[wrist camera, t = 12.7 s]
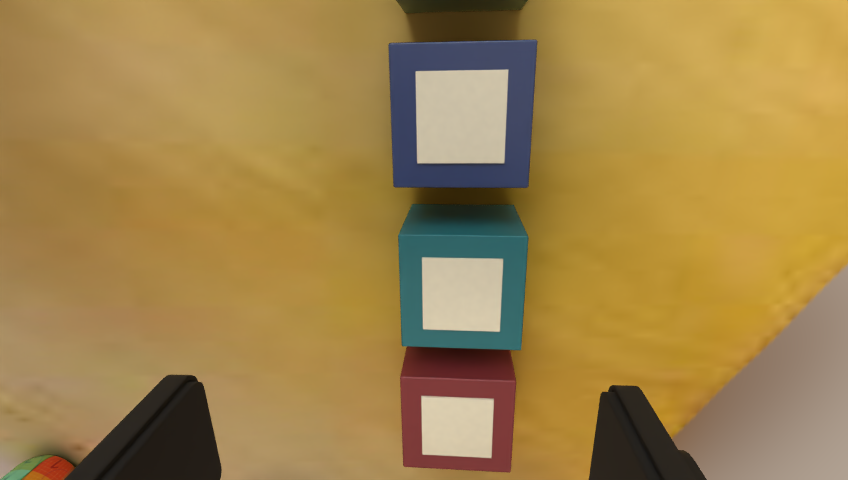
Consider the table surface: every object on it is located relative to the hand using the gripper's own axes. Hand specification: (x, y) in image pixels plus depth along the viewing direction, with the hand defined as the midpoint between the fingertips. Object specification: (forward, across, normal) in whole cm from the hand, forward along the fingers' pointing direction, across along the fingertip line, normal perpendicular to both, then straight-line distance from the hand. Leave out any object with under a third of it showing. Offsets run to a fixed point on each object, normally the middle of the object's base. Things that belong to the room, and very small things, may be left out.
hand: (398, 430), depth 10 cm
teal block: (+15, -2, +1) cm, 15 cm away
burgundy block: (+14, -2, +8) cm, 17 cm away
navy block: (+15, -2, -6) cm, 16 cm away
